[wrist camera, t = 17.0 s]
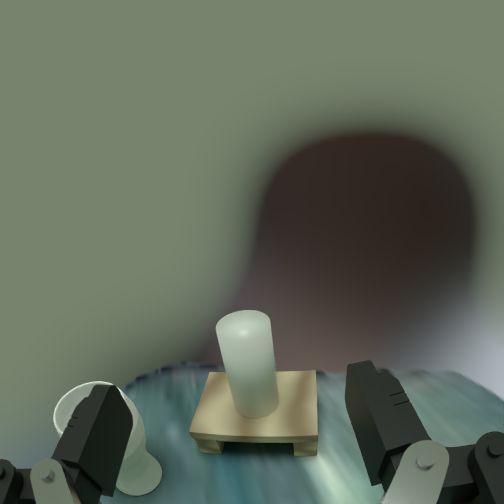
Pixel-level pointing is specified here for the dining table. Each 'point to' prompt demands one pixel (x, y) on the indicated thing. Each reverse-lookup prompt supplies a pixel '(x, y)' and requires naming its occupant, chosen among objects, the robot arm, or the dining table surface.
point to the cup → (136, 456)
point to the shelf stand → (261, 429)
